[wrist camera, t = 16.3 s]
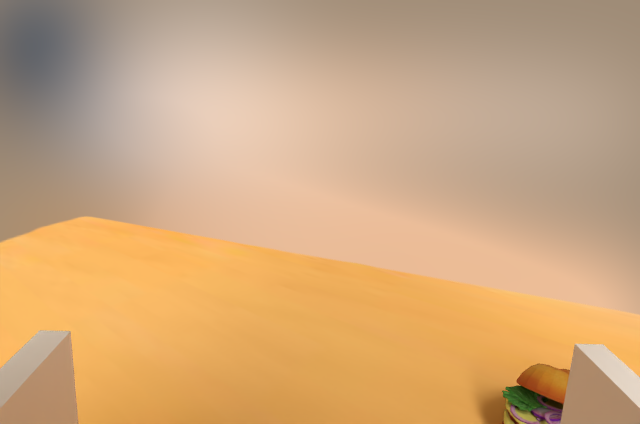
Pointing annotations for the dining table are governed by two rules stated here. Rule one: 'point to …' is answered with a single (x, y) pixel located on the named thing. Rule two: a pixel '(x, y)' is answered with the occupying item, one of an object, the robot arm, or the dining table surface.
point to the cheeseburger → (537, 396)
